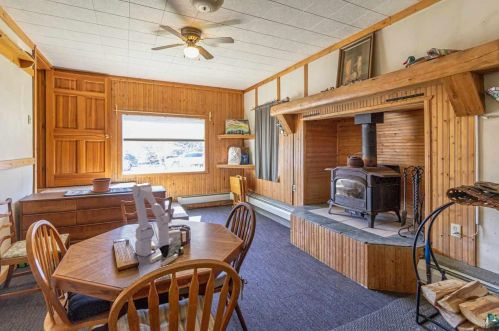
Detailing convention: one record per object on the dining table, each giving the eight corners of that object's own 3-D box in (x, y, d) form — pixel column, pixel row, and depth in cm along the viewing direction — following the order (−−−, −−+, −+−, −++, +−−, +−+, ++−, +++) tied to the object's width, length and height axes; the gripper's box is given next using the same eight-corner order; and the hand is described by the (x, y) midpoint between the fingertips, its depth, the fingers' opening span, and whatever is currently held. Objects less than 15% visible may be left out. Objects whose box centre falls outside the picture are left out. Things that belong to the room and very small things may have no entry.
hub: (160, 258, 155) (162, 247, 156) (166, 257, 160) (167, 246, 160) (168, 259, 153) (169, 248, 154) (173, 258, 158) (174, 247, 159)
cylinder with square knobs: (167, 255, 162) (167, 248, 162) (176, 250, 169) (176, 243, 169) (175, 256, 160) (174, 249, 159) (183, 251, 167) (183, 245, 167)
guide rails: (150, 262, 152) (150, 259, 152) (164, 254, 163) (164, 251, 163) (163, 265, 148) (163, 262, 148) (177, 257, 159) (177, 254, 159)
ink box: (179, 245, 177) (179, 228, 176) (181, 248, 172) (180, 231, 171) (166, 248, 173) (166, 230, 172) (167, 250, 168) (167, 233, 167)
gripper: (159, 239, 145) (160, 263, 146) (177, 232, 158) (177, 253, 159) (150, 238, 148) (151, 261, 149) (168, 230, 161) (168, 252, 162)
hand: (164, 257), depth 154 cm, fingers closed, pressing on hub
